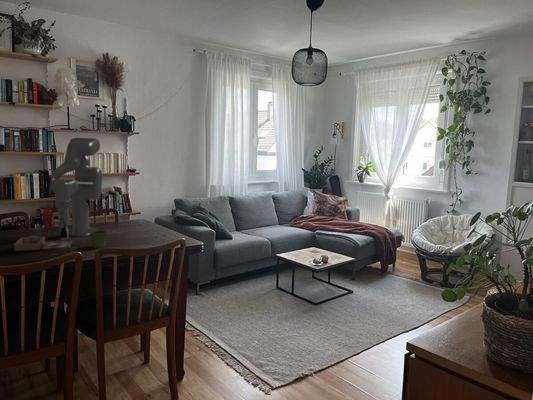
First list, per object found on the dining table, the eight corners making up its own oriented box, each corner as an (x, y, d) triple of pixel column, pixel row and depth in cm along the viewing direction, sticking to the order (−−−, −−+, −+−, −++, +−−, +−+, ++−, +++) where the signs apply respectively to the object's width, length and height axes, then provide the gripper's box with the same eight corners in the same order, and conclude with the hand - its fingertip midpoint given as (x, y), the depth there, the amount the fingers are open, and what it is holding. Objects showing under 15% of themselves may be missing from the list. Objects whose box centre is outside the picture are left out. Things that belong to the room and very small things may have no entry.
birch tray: (72, 242, 229) (72, 240, 229) (69, 248, 217) (69, 246, 216) (45, 244, 225) (45, 242, 225) (40, 250, 212) (40, 247, 212)
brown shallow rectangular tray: (45, 243, 226) (44, 236, 225) (39, 250, 211) (39, 243, 211) (21, 244, 222) (21, 237, 221) (14, 251, 207) (13, 244, 207)
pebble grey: (69, 237, 225) (68, 227, 224) (68, 239, 221) (67, 229, 220) (61, 237, 224) (60, 228, 223) (60, 239, 220) (59, 229, 219)
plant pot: (93, 245, 226) (92, 230, 224) (110, 245, 226) (110, 230, 225) (87, 249, 216) (86, 233, 215) (105, 249, 217) (104, 234, 216)
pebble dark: (38, 245, 219) (37, 235, 218) (36, 247, 215) (36, 237, 214) (29, 246, 217) (29, 235, 216) (28, 247, 213) (27, 237, 213)
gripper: (68, 207, 213) (70, 240, 216) (72, 201, 228) (73, 232, 231) (52, 207, 210) (54, 241, 213) (57, 201, 226) (59, 233, 229)
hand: (64, 236), depth 222 cm, fingers closed on pebble grey, 4 cm apart
